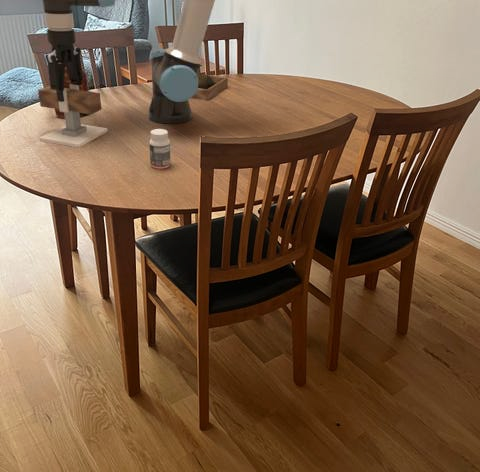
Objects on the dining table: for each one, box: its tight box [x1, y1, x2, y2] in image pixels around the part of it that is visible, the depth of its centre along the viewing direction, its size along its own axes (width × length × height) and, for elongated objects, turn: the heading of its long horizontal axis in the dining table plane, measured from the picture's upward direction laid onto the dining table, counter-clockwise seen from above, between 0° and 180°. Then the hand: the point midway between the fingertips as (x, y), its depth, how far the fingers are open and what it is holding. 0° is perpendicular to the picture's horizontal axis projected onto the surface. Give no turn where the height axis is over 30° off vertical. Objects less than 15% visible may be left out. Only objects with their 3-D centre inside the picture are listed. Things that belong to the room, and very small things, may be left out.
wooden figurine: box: [53, 63, 90, 120], centre depth 173 cm, size 12×6×18 cm, turn 134°
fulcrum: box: [39, 111, 109, 149], centre depth 159 cm, size 14×16×9 cm
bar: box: [37, 85, 102, 115], centre depth 155 cm, size 18×6×5 cm, turn 71°
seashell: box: [197, 73, 216, 89], centre depth 211 cm, size 16×9×7 cm, turn 139°
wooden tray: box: [191, 74, 229, 102], centre depth 210 cm, size 15×22×4 cm
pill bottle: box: [148, 128, 172, 170], centre depth 141 cm, size 6×6×10 cm
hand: (70, 108), depth 156 cm, fingers closed on bar, 5 cm apart
